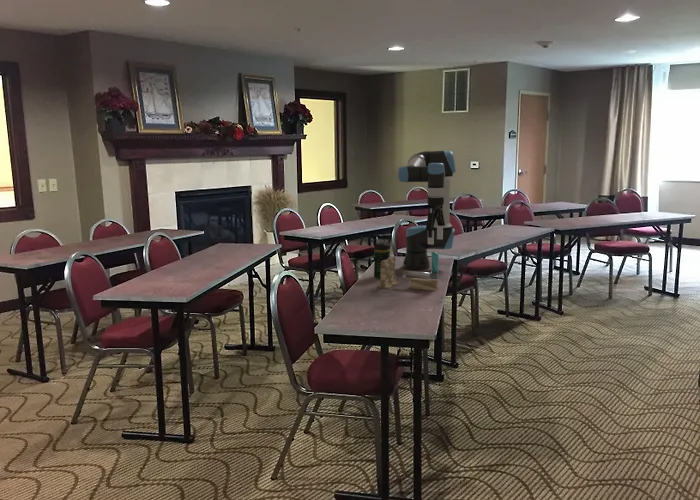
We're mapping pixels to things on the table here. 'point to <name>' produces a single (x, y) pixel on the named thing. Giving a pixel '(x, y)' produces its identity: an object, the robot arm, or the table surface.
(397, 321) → the table surface
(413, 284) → the tan wooden bar
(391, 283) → the tan wooden block
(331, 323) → the table surface
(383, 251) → the coffee jar
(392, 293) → the table surface
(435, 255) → the teal handled tool
